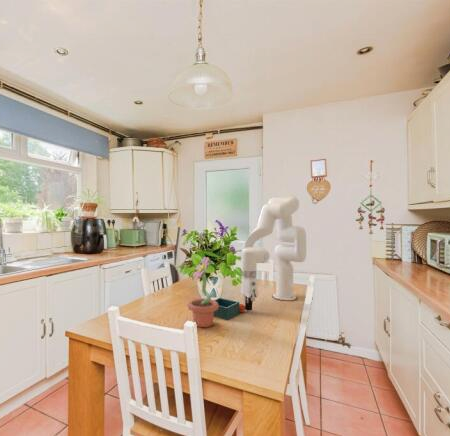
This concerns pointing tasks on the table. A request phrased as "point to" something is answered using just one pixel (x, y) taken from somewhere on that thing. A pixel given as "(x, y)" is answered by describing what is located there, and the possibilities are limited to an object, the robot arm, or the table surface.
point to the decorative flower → (203, 307)
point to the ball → (241, 308)
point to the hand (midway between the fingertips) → (248, 309)
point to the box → (226, 308)
